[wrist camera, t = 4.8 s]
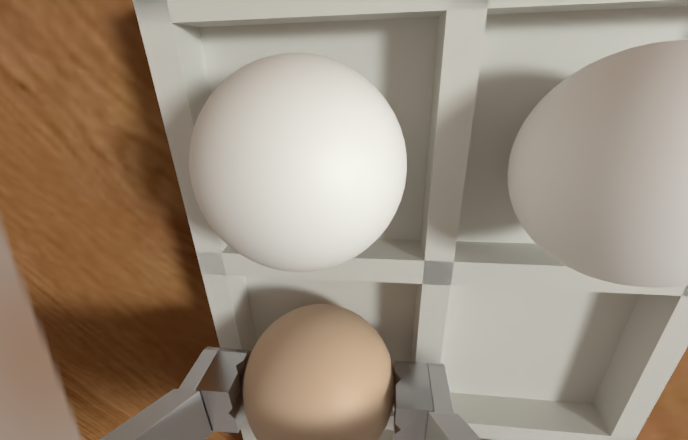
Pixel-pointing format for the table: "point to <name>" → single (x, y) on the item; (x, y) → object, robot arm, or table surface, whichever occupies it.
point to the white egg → (610, 168)
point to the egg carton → (443, 202)
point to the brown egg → (319, 378)
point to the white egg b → (297, 162)
